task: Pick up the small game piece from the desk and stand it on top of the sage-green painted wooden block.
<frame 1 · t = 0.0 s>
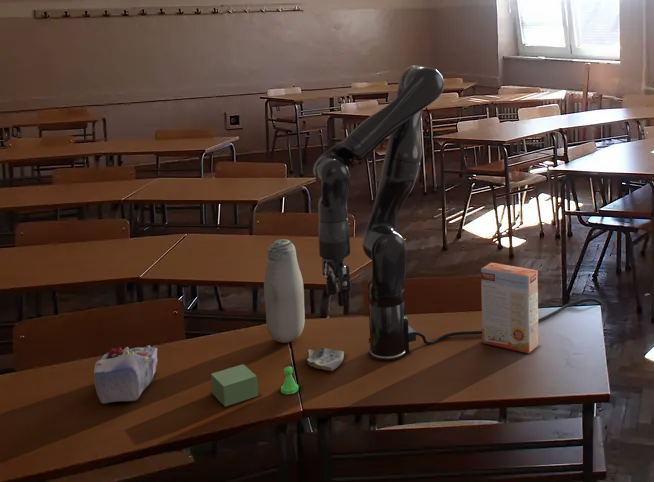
hand: (337, 299, 206), 17 cm above the table, tool pointing down, fingers open, 8 cm apart
green block: (234, 394, 194), on the table
ceramic fragment: (321, 364, 210), on the table
cell model: (128, 388, 199), on the table
cracker box: (510, 345, 218), on the table
white bottle: (286, 340, 224), on the table
game piece: (289, 390, 196), on the table
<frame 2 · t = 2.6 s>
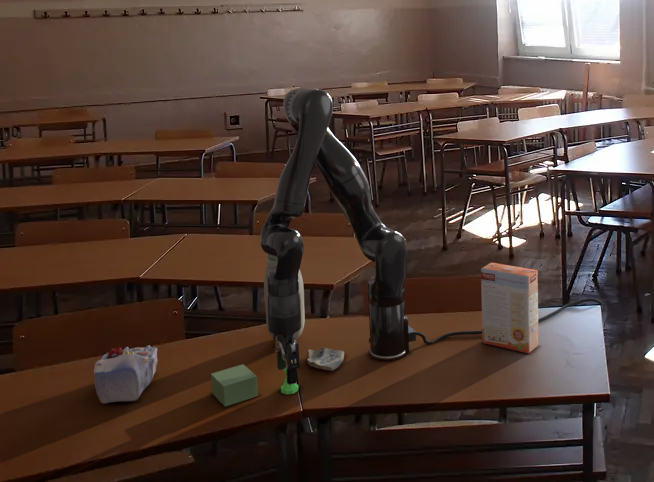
hand: (287, 375, 195), 4 cm above the table, tool pointing down, fingers open, 8 cm apart
nothing on the table moved.
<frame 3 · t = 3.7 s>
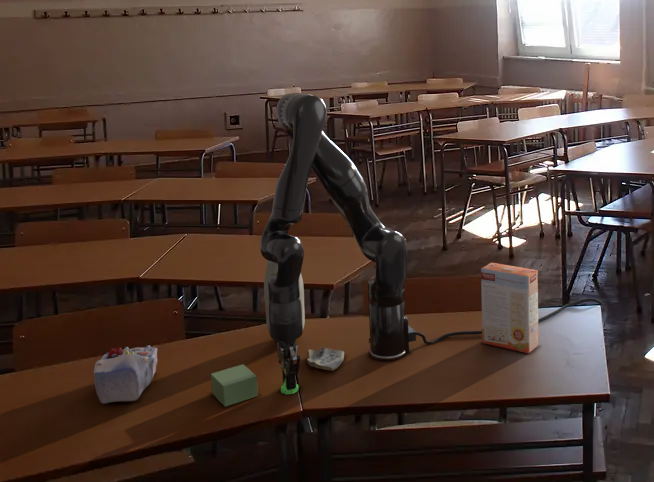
hand: (289, 385, 196), 1 cm above the table, tool pointing down, fingers closed on game piece, 2 cm apart
game piece: (289, 390, 196), on the table, touching gripper
everything else where it was.
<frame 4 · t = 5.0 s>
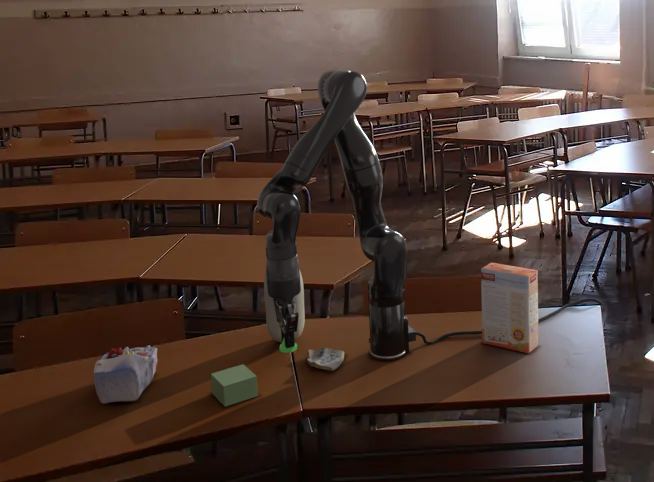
hand: (288, 344, 194), 11 cm above the table, tool pointing down, fingers closed on game piece
game piece: (288, 349, 194), point 10 cm above the table, touching gripper
everything else where it was.
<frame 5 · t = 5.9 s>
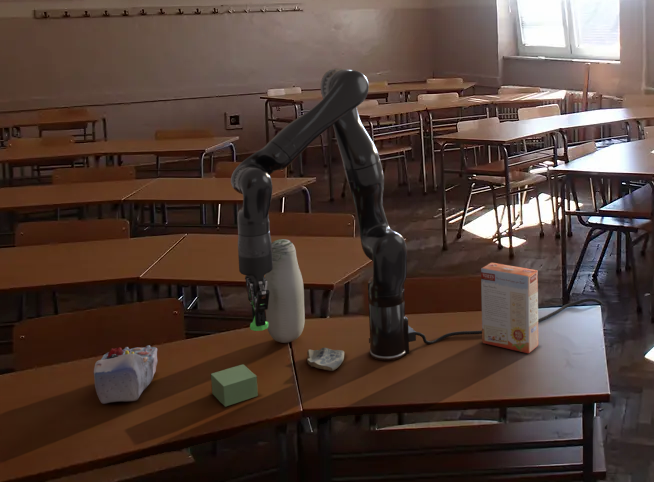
hand: (259, 322, 192), 17 cm above the table, tool pointing down, fingers closed on game piece
game piece: (259, 328, 192), point 16 cm above the table, touching gripper
everything else where it was.
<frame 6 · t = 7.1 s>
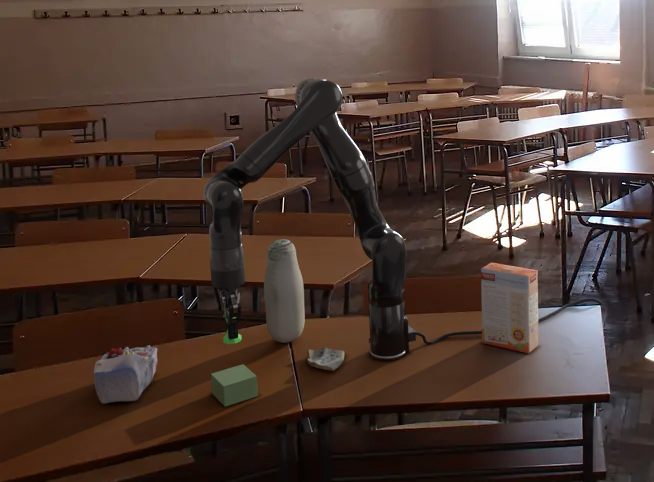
hand: (232, 335, 192), 15 cm above the table, tool pointing down, fingers closed on game piece
game piece: (232, 341, 192), point 13 cm above the table, touching gripper
everything else where it was.
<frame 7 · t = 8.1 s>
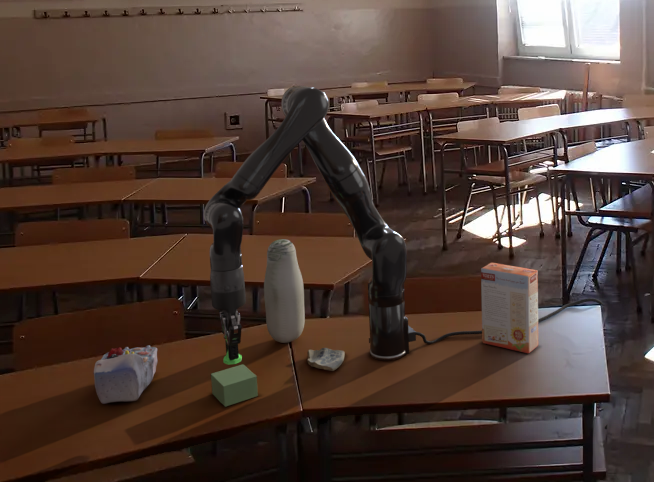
hand: (232, 356, 193), 10 cm above the table, tool pointing down, fingers closed on game piece
game piece: (232, 361, 193), point 8 cm above the table, touching gripper
everything else where it was.
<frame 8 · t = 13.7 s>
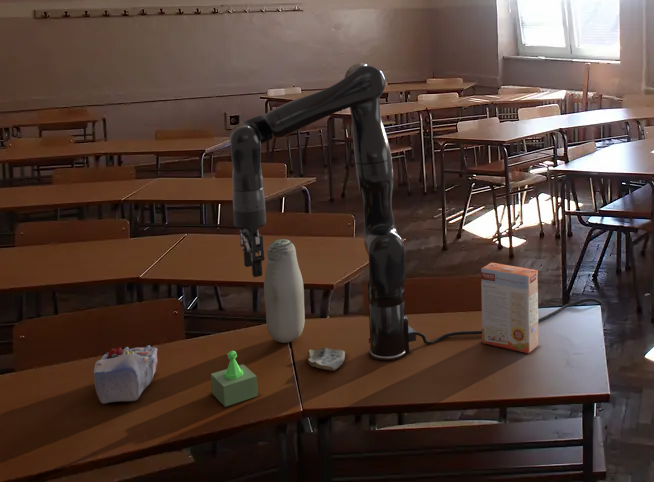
hand: (253, 271, 202), 26 cm above the table, tool pointing down, fingers open, 8 cm apart
game piece: (233, 375, 194), point 5 cm above the table
everything else where it was.
at the end: game piece 0.0 cm off-centre on the green block, point 4.8 cm above the green block's base; game piece tilted 0°; the gripper is holding nothing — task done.
